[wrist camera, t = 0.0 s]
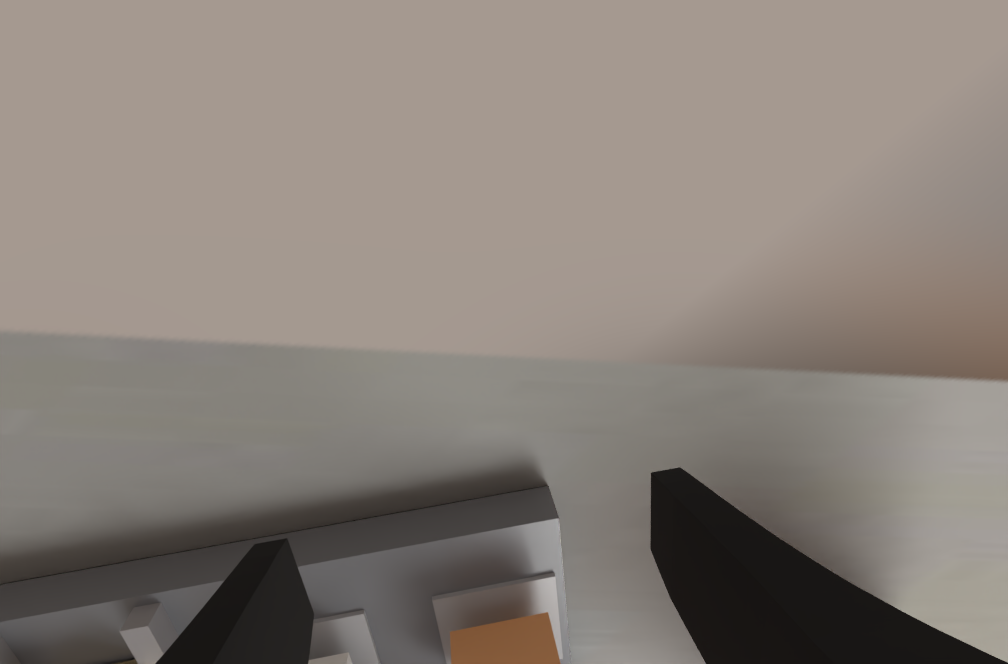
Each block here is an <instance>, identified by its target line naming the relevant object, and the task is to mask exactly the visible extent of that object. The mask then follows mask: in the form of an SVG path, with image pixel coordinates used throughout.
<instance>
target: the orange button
mask: <svg viewBox="0 0 1008 664" xmlns="http://www.w3.org/2000/svg"><path fill="white" fill-rule="evenodd" d="M450 646H451V664H561V663H560V659H559V655H558V651H557V647H556V643H555V639H554V634H553V630H552V626H551V622H550V618H549V614H548V612H546V613H541V614H536V615H531V616H526V617H521V618H516V619H511V620H506V621H501V622H496V623H491V624H486V625H481V626H476V627H471V628H466V629H461V630H456V631H451V632H450Z"/></svg>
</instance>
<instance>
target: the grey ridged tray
mask: <svg viewBox="0 0 1008 664" xmlns="http://www.w3.org/2000/svg"><path fill="white" fill-rule="evenodd" d="M285 538H287V539H288V541H289V544H290V547H291V550H292V553H293V556H294V558H295V561H296V564H297V567H298V570H299V572H300V575H301V578H302V581H303V584H304V586H305V589H306V592H307V595H308V598H309V600H310V603H311V606H312V609H313V612H314V621H313V629H312V638H311V647H310V654H309V660H312V659H317V658H322V657H327V656H332V655H337V654H342V653H347V652H349V655H350V658H351V661H352V664H451V646H450V632H451V631H456V630H461V629H466V628H471V627H476V626H481V625H486V624H491V623H496V622H501V621H506V620H511V619H516V618H521V617H526V616H531V615H536V614H541V613H546V612H548V614H549V618H550V622H551V626H552V630H553V634H554V639H555V643H556V647H557V651H558V655H559V659H560V663H561V664H571V654H570V642H569V630H568V619H567V607H566V595H565V583H564V572H563V560H562V548H561V536H560V525H559V517H558V514H557V511H556V508H555V505H554V502H553V499H552V496H551V493H550V489H549V486H545V487H539V488H534V489H528V490H523V491H517V492H512V493H506V494H501V495H495V496H490V497H484V498H478V499H473V500H467V501H462V502H456V503H451V504H445V505H440V506H434V507H429V508H423V509H417V510H412V511H406V512H401V513H395V514H390V515H384V516H379V517H373V518H368V519H362V520H357V521H351V522H345V523H340V524H334V525H329V526H323V527H318V528H312V529H307V530H301V531H296V532H290V533H285V534H279V535H273V536H268V537H262V538H257V539H251V540H246V541H240V542H235V543H229V544H224V545H218V546H212V547H207V548H201V549H196V550H190V551H185V552H179V553H174V554H168V555H163V556H157V557H152V558H146V559H140V560H135V561H129V562H124V563H118V564H113V565H107V566H102V567H96V568H91V569H85V570H80V571H74V572H68V573H63V574H57V575H52V576H46V577H41V578H35V579H30V580H24V581H19V582H13V583H7V584H2V585H0V664H114V663H119V662H124V661H130V660H135V659H136V661H137V663H138V664H155V663H156V662H157V661H158V660H159V659H160V658H161V657H162V656H163V654H164V653H165V652H166V651H167V650H168V649H169V647H170V646H171V645H172V644H173V643H174V641H175V640H176V639H177V638H178V637H179V635H180V634H181V633H182V632H183V631H184V629H185V628H186V627H187V626H188V625H189V623H190V622H191V621H192V620H193V619H194V617H195V616H196V615H197V614H198V613H199V611H200V610H201V609H202V608H203V607H204V605H205V604H206V603H207V602H208V600H209V599H210V598H211V597H212V595H213V594H214V593H215V592H216V591H217V589H218V588H219V587H220V586H221V584H222V583H223V582H224V581H225V579H226V578H227V577H228V576H229V575H230V573H231V572H232V571H233V570H234V568H235V567H236V566H237V565H238V563H239V562H240V561H241V560H242V558H243V557H244V556H245V555H246V554H247V552H248V551H249V550H250V549H251V548H252V547H253V545H254V544H257V543H263V542H268V541H274V540H280V539H285Z"/></svg>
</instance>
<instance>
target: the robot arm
mask: <svg viewBox="0 0 1008 664" xmlns="http://www.w3.org/2000/svg"><path fill="white" fill-rule="evenodd" d="M651 551H652V554H653V556H654V559H655V561H656V564H657V566H658V569H659V571H660V574H661V576H662V579H663V581H664V584H665V586H666V588H667V591H668V593H669V595H670V598H671V600H672V602H673V604H674V605H675V607H676V609H677V611H678V613H679V615H680V617H681V619H682V620H683V622H684V624H685V626H686V628H687V630H688V631H689V633H690V635H691V637H692V639H693V641H694V643H695V644H696V646H697V648H698V650H699V652H700V653H701V655H702V657H703V659H704V661H705V663H706V664H1008V663H1007V662H1005V661H1003V660H1000V659H998V658H996V657H994V656H991V655H989V654H987V653H985V652H983V651H981V650H979V649H977V648H975V647H973V646H971V645H968V644H966V643H964V642H962V641H960V640H958V639H956V638H954V637H952V636H950V635H948V634H945V633H943V632H941V631H939V630H937V629H935V628H933V627H931V626H929V625H927V624H925V623H923V622H921V621H919V620H917V619H915V618H914V617H912V616H910V615H908V614H906V613H904V612H902V611H900V610H898V609H897V608H895V607H893V606H891V605H889V604H887V603H886V602H884V601H882V600H880V599H878V598H876V597H875V596H873V595H871V594H869V593H867V592H866V591H864V590H862V589H860V588H858V587H857V586H855V585H853V584H851V583H850V582H848V581H846V580H845V579H843V578H841V577H839V576H838V575H836V574H834V573H833V572H831V571H830V570H828V569H826V568H825V567H823V566H822V565H820V564H818V563H817V562H815V561H814V560H812V559H810V558H809V557H807V556H806V555H804V554H802V553H801V552H799V551H798V550H796V549H795V548H793V547H792V546H790V545H789V544H787V543H785V542H784V541H782V540H781V539H779V538H778V537H776V536H775V535H773V534H772V533H771V532H769V531H768V530H766V529H765V528H763V527H762V526H760V525H759V524H757V523H756V522H755V521H753V520H752V519H750V518H749V517H748V516H746V515H745V514H743V513H742V512H740V511H739V510H738V509H736V508H735V507H734V506H732V505H731V504H729V503H728V502H727V501H725V500H724V499H723V498H721V497H720V496H718V495H717V494H716V493H714V492H713V491H712V490H710V489H709V488H708V487H706V486H705V485H704V484H702V483H701V482H699V481H698V480H697V479H695V478H694V477H693V476H691V475H690V474H689V473H687V472H686V471H684V470H683V469H682V468H675V469H669V470H664V471H658V472H652V473H651ZM313 621H314V612H313V609H312V606H311V603H310V600H309V598H308V595H307V592H306V589H305V586H304V584H303V581H302V578H301V575H300V572H299V570H298V567H297V564H296V561H295V558H294V556H293V553H292V550H291V547H290V544H289V541H288V539H287V538H285V539H280V540H274V541H268V542H263V543H257V544H254V545H253V547H252V548H251V549H250V550H249V551H248V552H247V554H246V555H245V556H244V557H243V558H242V560H241V561H240V562H239V563H238V565H237V566H236V567H235V568H234V570H233V571H232V572H231V573H230V575H229V576H228V577H227V578H226V579H225V581H224V582H223V583H222V584H221V586H220V587H219V588H218V589H217V591H216V592H215V593H214V594H213V595H212V597H211V598H210V599H209V600H208V602H207V603H206V604H205V605H204V607H203V608H202V609H201V610H200V611H199V613H198V614H197V615H196V616H195V617H194V619H193V620H192V621H191V622H190V623H189V625H188V626H187V627H186V628H185V629H184V631H183V632H182V633H181V634H180V635H179V637H178V638H177V639H176V640H175V641H174V643H173V644H172V645H171V646H170V647H169V649H168V650H167V651H166V652H165V653H164V654H163V656H162V657H161V658H160V659H159V660H158V661H157V662H156V663H155V664H308V661H309V654H310V647H311V638H312V629H313Z"/></svg>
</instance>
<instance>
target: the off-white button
mask: <svg viewBox="0 0 1008 664" xmlns="http://www.w3.org/2000/svg"><path fill="white" fill-rule="evenodd" d="M308 664H352V661H351V658H350V655H349V652H347V653H342V654H337V655H332V656H327V657H322V658H317V659H312V660H309V661H308Z"/></svg>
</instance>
